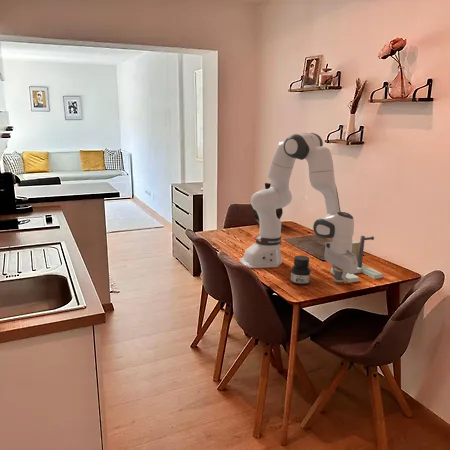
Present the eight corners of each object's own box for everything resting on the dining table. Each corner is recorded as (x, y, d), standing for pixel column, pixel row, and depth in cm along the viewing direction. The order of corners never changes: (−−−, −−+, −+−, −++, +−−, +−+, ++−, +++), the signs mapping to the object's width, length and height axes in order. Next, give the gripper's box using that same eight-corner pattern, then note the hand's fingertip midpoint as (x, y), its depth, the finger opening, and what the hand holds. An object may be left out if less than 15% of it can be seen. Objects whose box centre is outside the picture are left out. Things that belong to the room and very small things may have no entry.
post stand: (348, 282, 193) (352, 246, 189) (330, 272, 206) (333, 237, 201) (386, 277, 201) (390, 241, 197) (366, 267, 214) (370, 233, 209)
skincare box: (349, 266, 215) (351, 243, 212) (343, 263, 219) (345, 241, 216) (358, 264, 218) (361, 242, 215) (352, 261, 222) (354, 239, 219)
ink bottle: (287, 284, 190) (289, 259, 187) (291, 277, 198) (293, 253, 195) (309, 287, 187) (311, 262, 184) (311, 280, 195) (313, 256, 192)
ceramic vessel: (256, 228, 282) (257, 185, 275) (249, 222, 299) (251, 181, 291) (285, 227, 286) (288, 184, 279) (277, 221, 303) (279, 180, 295)
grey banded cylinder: (337, 284, 191) (339, 268, 188) (331, 281, 195) (332, 265, 193) (345, 283, 192) (347, 267, 190) (339, 279, 196) (340, 263, 194)
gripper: (362, 254, 181) (359, 283, 184) (334, 240, 199) (331, 267, 203) (350, 255, 179) (347, 285, 182) (323, 242, 197) (320, 269, 201)
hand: (338, 276), depth 193 cm, fingers closed on grey banded cylinder, 4 cm apart
